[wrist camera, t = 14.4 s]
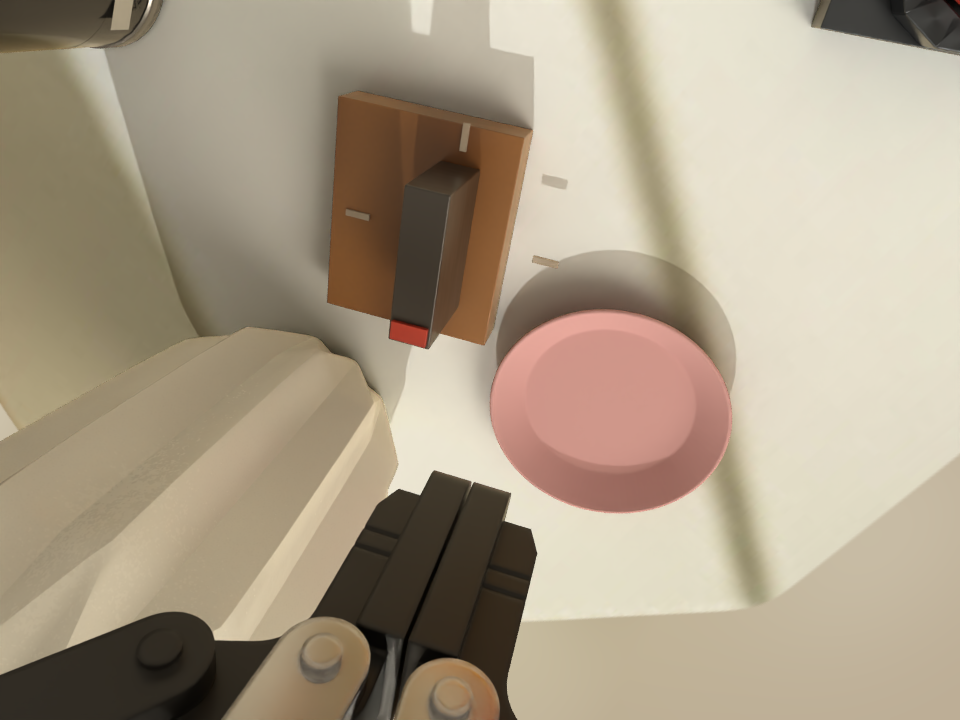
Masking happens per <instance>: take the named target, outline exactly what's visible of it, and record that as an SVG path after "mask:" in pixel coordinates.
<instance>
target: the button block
mask: <svg viewBox="0 0 960 720" xmlns="http://www.w3.org/2000/svg"><path fill="white" fill-rule="evenodd" d="M811 27H814V28H819V29H824V30H830V31H835V32H840V33H845V34H850V35H856V36H861V37H866V38H871V39H876V40H882V41H887V42H892V43H897V44H902V45H907V46H913V47H918V48H923V49H928V50H933V51H939V52H944V53H949V54H954V55H959V56H960V5H959V4H958V3H957V2H956V1H955V0H821V1H820V4H819V7H818V9H817V12H816V15H815V17H814V20H813V23H812V25H811Z"/></svg>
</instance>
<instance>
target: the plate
mask: <svg viewBox="0 0 960 720" xmlns="http://www.w3.org/2000/svg"><path fill="white" fill-rule="evenodd" d="M490 415H491V421H492V426H493V429H494V433H495V435H496V438H497V440H498V443H499V445H500V447H501V449H502V450H503V452H504V454H505V455H506V457H507V458H508V460H509V461H510V462H511V464H512V465H513V466H514V467H515V469H516V470H517V471H518V472H519V473H520V474H521V475H522V476H523V477H524V478H525V479H527V480H528V481H529V482H530V483H531V484H533V485H534V486H535V487H537V488H538V489H540V490H541V491H543V492H544V493H546V494H548V495H549V496H551V497H553V498H555V499H557V500H559V501H562V502H564V503H567V504H569V505H572V506H575V507H578V508H582V509H586V510H591V511H596V512H604V513H634V512H641V511H647V510H651V509H655V508H659V507H662V506H665V505H667V504H670V503H672V502H675V501H677V500H679V499H681V498H682V497H684V496H686V495H688V494H689V493H691V492H692V491H693V490H695V489H696V488H697V487H699V486H700V485H701V484H702V483H703V482H704V481H705V480H706V479H707V478H708V477H709V476H710V475H711V474H712V472H713V471H714V470H715V469H716V467H717V466H718V464H719V463H720V461H721V459H722V457H723V455H724V453H725V451H726V448H727V445H728V442H729V439H730V434H731V428H732V408H731V402H730V397H729V394H728V390H727V387H726V385H725V382H724V380H723V378H722V376H721V374H720V372H719V371H718V369H717V367H716V366H715V364H714V363H713V362H712V360H711V359H710V358H709V357H708V355H707V354H706V353H705V352H704V351H703V350H702V349H701V348H700V347H699V346H698V345H697V344H696V343H695V342H694V341H692V340H691V339H690V338H689V337H687V336H686V335H684V334H683V333H681V332H680V331H678V330H677V329H675V328H673V327H671V326H670V325H668V324H665V323H663V322H661V321H659V320H656V319H654V318H651V317H648V316H645V315H641V314H638V313H633V312H628V311H622V310H611V309H595V310H584V311H578V312H573V313H569V314H565V315H562V316H559V317H556V318H553V319H551V320H549V321H546V322H544V323H542V324H541V325H539V326H537V327H535V328H534V329H532V330H531V331H529V332H528V333H527V334H525V335H524V336H523V337H522V338H520V339H519V340H518V341H517V342H516V343H515V344H514V345H513V346H512V348H511V349H510V350H509V351H508V353H507V354H506V355H505V357H504V358H503V360H502V362H501V363H500V365H499V367H498V369H497V372H496V374H495V377H494V380H493V384H492V388H491V394H490Z"/></svg>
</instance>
